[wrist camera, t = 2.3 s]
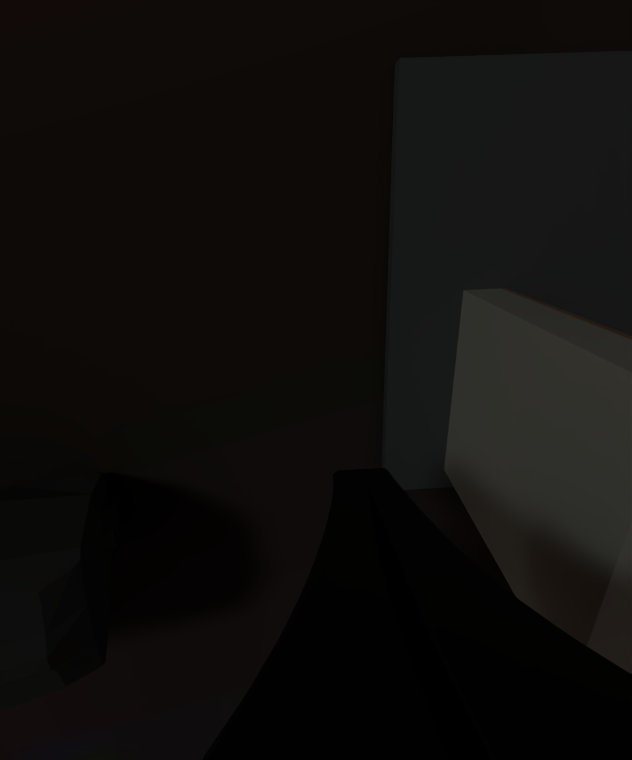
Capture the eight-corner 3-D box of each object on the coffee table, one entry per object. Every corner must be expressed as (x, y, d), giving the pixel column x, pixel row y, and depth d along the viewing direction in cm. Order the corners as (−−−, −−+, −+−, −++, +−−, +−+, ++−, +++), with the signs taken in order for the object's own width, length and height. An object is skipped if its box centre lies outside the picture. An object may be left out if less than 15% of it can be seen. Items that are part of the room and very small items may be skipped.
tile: (479, 467, 18) (634, 688, 10) (444, 469, 18) (570, 693, 10) (505, 288, 15) (771, 389, 7) (463, 290, 15) (675, 394, 6)
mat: (691, 464, 19) (703, 471, 19) (380, 483, 19) (383, 491, 18) (857, 50, 13) (883, 42, 12) (394, 64, 12) (399, 58, 12)
